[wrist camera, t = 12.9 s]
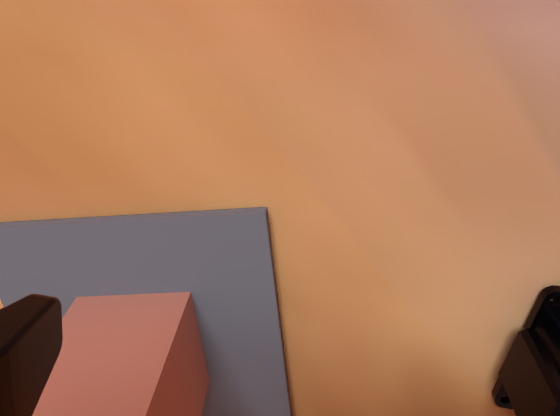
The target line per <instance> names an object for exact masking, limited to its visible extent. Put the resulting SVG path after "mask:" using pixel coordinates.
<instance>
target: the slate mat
mask: <svg viewBox="0 0 560 416" xmlns="http://www.w3.org/2000/svg"><path fill="white" fill-rule="evenodd" d="M176 292H191V296H192V301H193V305H194V310H195V315H196V319H197V324H198V329H199V333H200V338H201V343H202V347H203V352H204V357H205V362H206V366H207V371H208V376H209V380H210V381H209V385H208V389H207V393H206V397H205V401H204V405H203V409H202V413H201V416H292V413H291V405H290V396H289V388H288V380H287V372H286V363H285V355H284V347H283V338H282V330H281V322H280V314H279V305H278V297H277V289H276V281H275V272H274V264H273V256H272V248H271V239H270V231H269V223H268V215H267V207H258V208H240V209H223V210H206V211H189V212H171V213H154V214H137V215H120V216H103V217H85V218H68V219H51V220H34V221H16V222H0V299H1V301H2V303H3V306H4V307H6V306H8V305H10V304H12V303H14V302H16V301H18V300H20V299H22V298H24V297H26V296H28V295H30V294H41V295H47V296H52V297H56V298H58V299H59V300H60V302H61V306H62V318H63V316H64V315H65V313H66V312H67V311H68V309H69V308H70V306H71V305H72V303H73V302H74V300H75V299H76V297H86V296H108V295H131V294H153V293H176Z"/></svg>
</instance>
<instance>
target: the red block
mask: <svg viewBox="0 0 560 416" xmlns="http://www.w3.org/2000/svg"><path fill="white" fill-rule="evenodd" d="M62 333H63V341H62V347H61V350H60V354H59V356H58V358H57V361H56V363H55V365H54V367H53V370H52V372H51V374H50V376H49V379H48V381H47V383H46V385H45V388H44V390H43V392H42V395H41V397H40V399H39V401H38V404H37V406H36V408H35V410H34V413H33V415H32V416H201V413H202V409H203V405H204V401H205V397H206V393H207V389H208V385H209V381H210V380H209V376H208V371H207V366H206V362H205V357H204V352H203V347H202V343H201V338H200V333H199V329H198V324H197V319H196V315H195V310H194V305H193V301H192V296H191V292H176V293H153V294H131V295H108V296H86V297H76V299H75V300H74V302H73V303H72V305H71V306H70V308H69V309H68V311H67V312H66V313H65V315H64V316H63V318H62Z"/></svg>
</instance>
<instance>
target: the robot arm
mask: <svg viewBox="0 0 560 416" xmlns="http://www.w3.org/2000/svg"><path fill="white" fill-rule="evenodd" d="M553 297H558V298H557V299H555V300H553V301H550V300H551V298H553ZM62 341H63V333H62V306H61V302H60V300H59V299H58V298H56V297H52V296H47V295H41V294H30V295H28V296H26V297H24V298H22V299H20V300H18V301H16V302H14V303H12V304H10V305H8V306H6V307H4V308H2V309H0V416H32V415H33V413H34V410H35V408H36V406H37V404H38V401H39V399H40V397H41V395H42V392H43V390H44V388H45V385H46V383H47V381H48V379H49V376H50V374H51V372H52V370H53V367H54V365H55V363H56V361H57V358H58V356H59V354H60V350H61V347H62ZM499 376H500V377H499V379H498V381H497V383H496V385H495V387H494V389H493V391H492V395H493V398H494V401H495V403H496V404H497V405H498V406H500V407H503V408H509V409H514V412H515V414H516V416H560V286H549V287H546V288H545V289H543V290H542V291H541V293H540V294H539V297H538V299H537V301H536V303H535V305H534V307H533V309H532V311H531V313H530V315H529V317H528V319H527V321H526V323H525V325H524V327H523V329H522V330H521V331H519V333H518V335H517V337H516V339H515V341H514V343H513V345H512V347H511V349H510V351H509V353H508V355H507V357H506V359H505V361H504V364H503V366H502V368H501V370H500V372H499ZM505 395H507V396H505ZM502 396H505V397H502Z"/></svg>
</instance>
